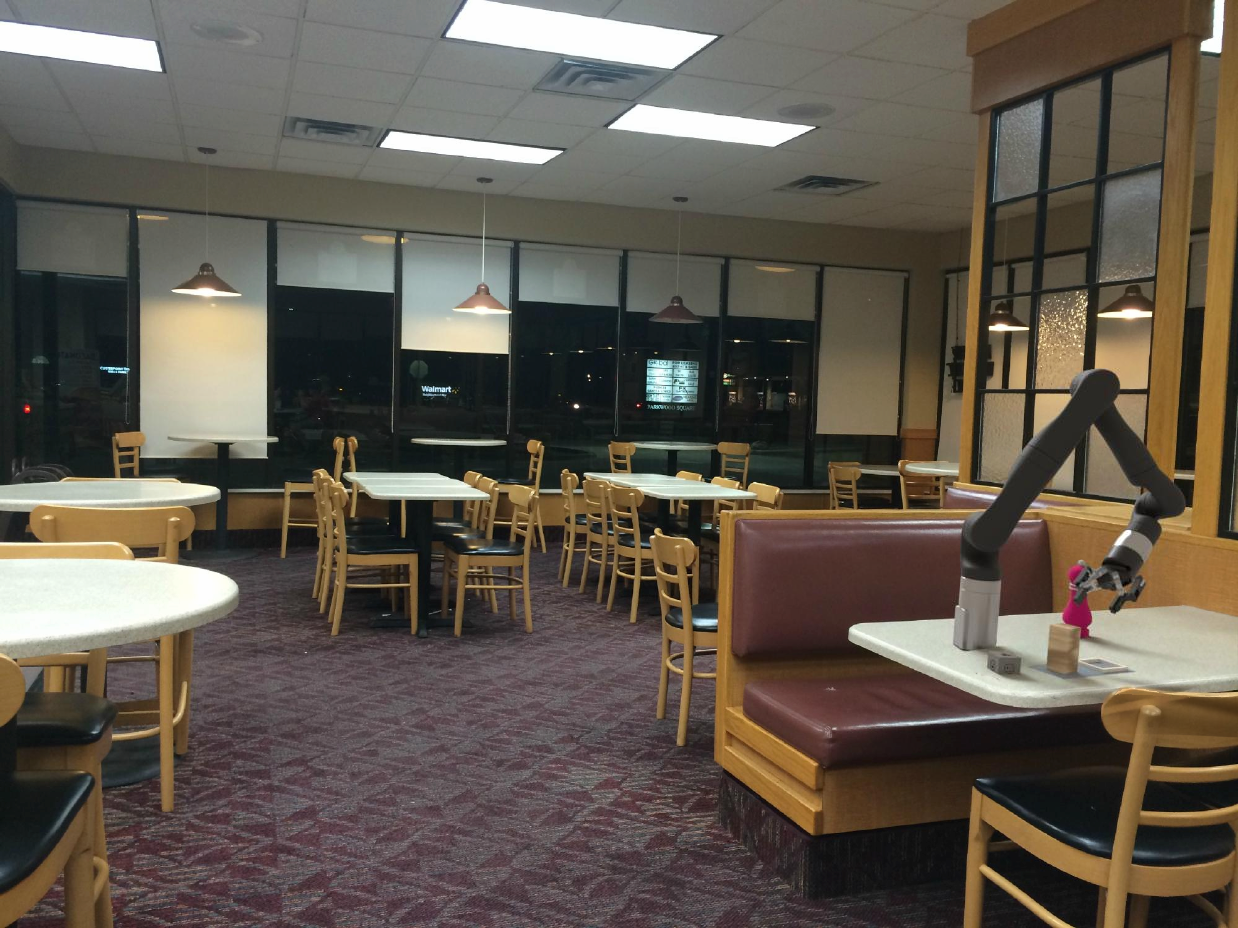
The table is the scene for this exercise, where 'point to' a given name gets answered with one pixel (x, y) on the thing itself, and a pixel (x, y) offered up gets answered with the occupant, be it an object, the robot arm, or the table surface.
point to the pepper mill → (1073, 612)
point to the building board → (1088, 668)
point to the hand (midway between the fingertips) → (1093, 607)
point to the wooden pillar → (1063, 648)
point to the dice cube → (1004, 662)
